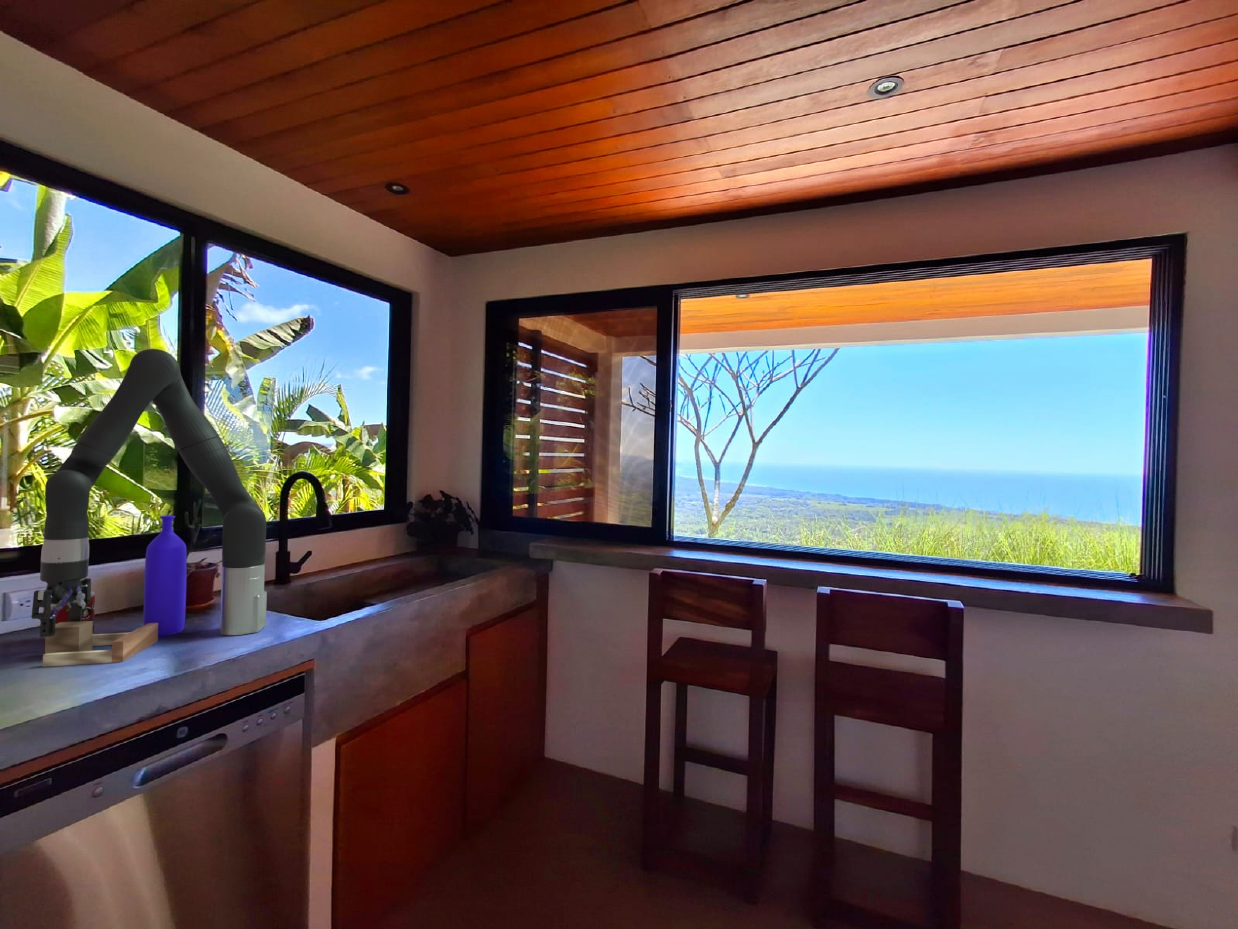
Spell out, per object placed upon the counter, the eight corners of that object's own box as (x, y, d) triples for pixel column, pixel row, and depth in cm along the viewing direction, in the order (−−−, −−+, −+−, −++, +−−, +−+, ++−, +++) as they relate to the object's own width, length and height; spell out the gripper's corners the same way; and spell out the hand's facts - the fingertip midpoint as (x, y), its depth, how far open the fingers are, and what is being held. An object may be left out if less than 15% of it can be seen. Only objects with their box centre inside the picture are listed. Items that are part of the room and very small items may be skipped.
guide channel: (157, 641, 131) (158, 622, 131) (122, 661, 118) (123, 641, 118) (87, 645, 127) (87, 626, 127) (42, 666, 114) (43, 645, 114)
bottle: (191, 630, 140) (195, 515, 140) (153, 639, 133) (156, 518, 133) (174, 625, 144) (177, 513, 144) (135, 634, 136) (139, 516, 136)
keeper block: (91, 651, 124) (92, 620, 124) (78, 658, 120) (79, 626, 120) (59, 653, 122) (60, 622, 122) (44, 660, 118) (45, 628, 118)
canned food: (65, 646, 127) (66, 599, 127) (39, 642, 128) (41, 596, 128) (102, 636, 134) (104, 592, 134) (77, 633, 136) (79, 589, 136)
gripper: (63, 563, 115) (59, 639, 115) (106, 553, 129) (102, 620, 128) (19, 564, 113) (14, 641, 113) (67, 553, 126) (63, 622, 126)
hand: (61, 630), depth 121 cm, fingers open, 8 cm apart
